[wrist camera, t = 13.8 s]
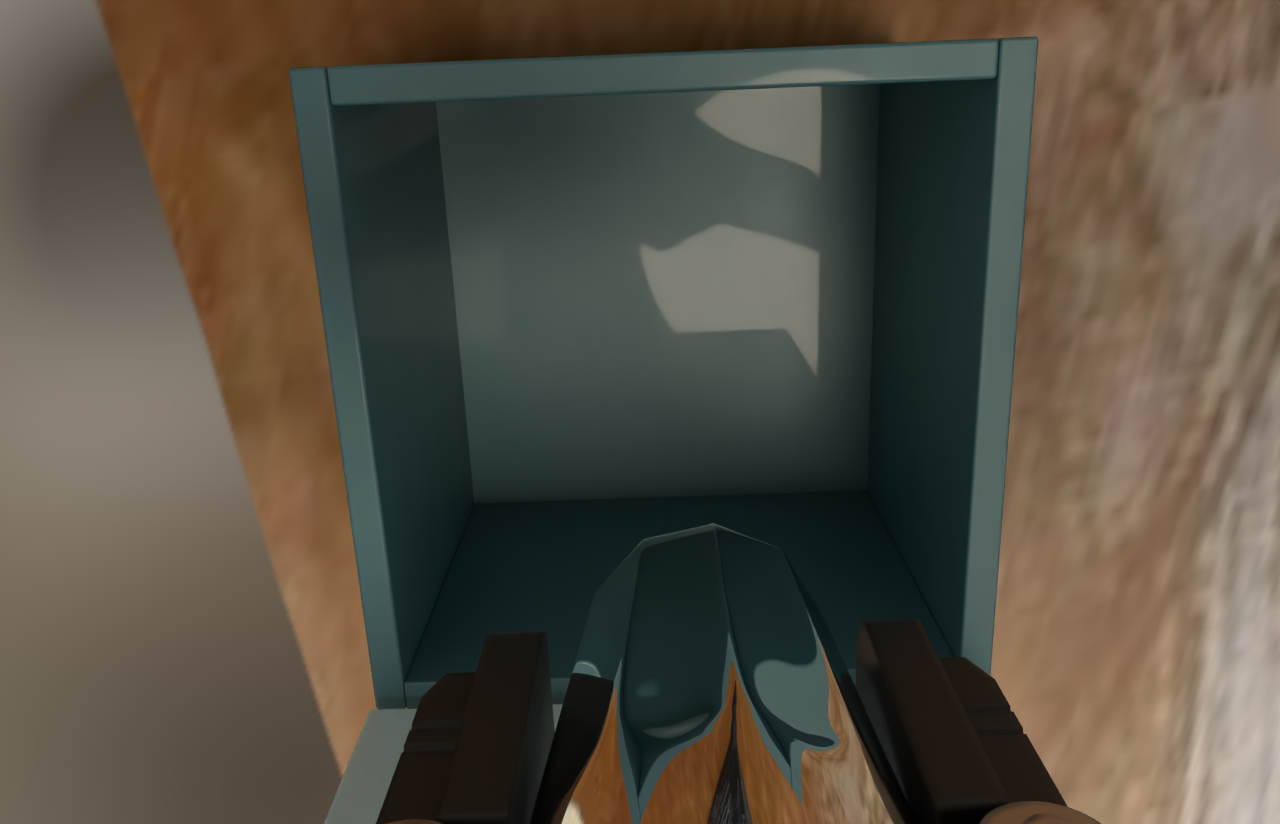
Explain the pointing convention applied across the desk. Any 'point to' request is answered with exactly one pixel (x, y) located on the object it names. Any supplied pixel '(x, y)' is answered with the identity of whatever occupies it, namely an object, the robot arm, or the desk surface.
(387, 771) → the lid
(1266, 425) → the desk surface
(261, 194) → the desk surface
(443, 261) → the case
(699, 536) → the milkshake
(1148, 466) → the desk surface
